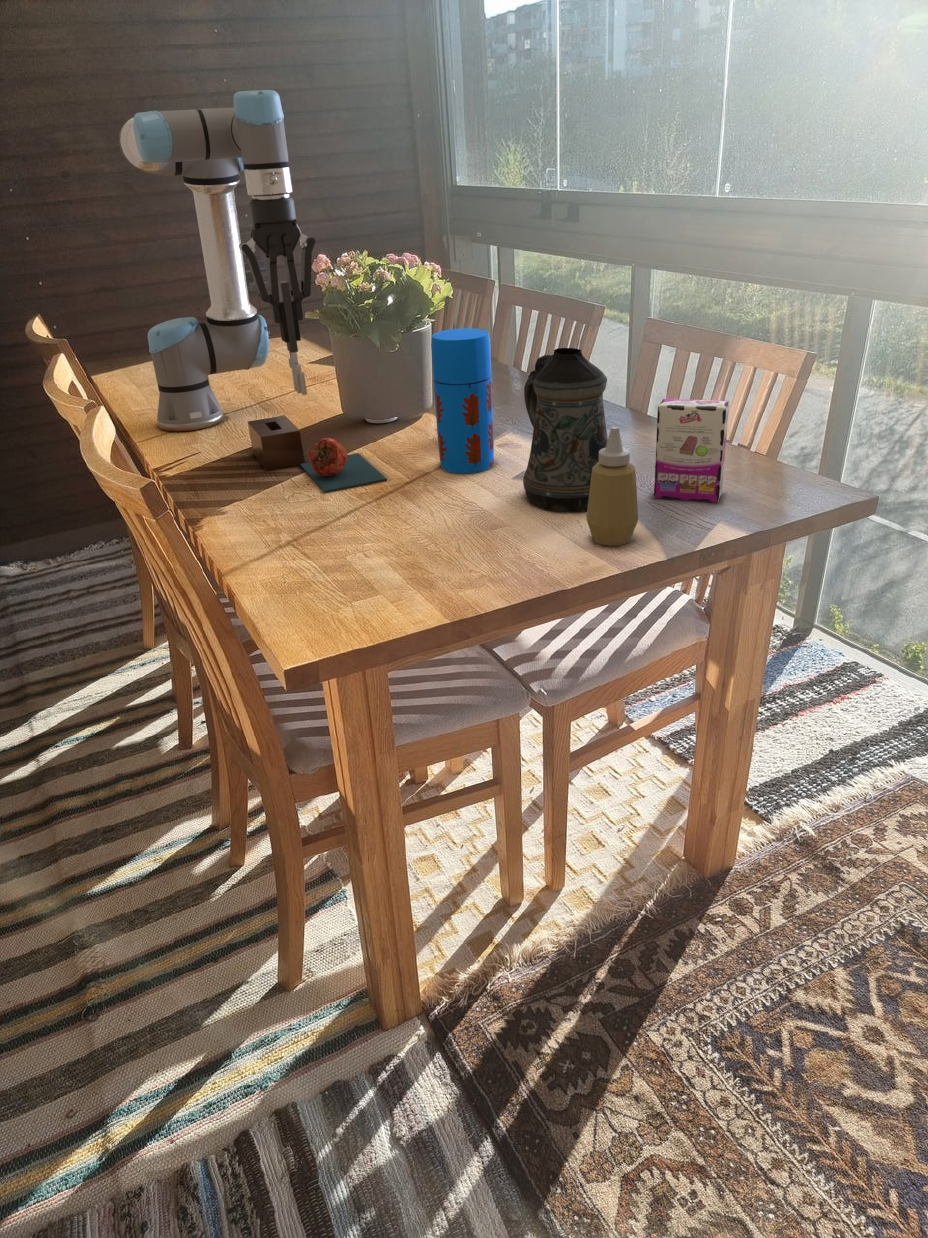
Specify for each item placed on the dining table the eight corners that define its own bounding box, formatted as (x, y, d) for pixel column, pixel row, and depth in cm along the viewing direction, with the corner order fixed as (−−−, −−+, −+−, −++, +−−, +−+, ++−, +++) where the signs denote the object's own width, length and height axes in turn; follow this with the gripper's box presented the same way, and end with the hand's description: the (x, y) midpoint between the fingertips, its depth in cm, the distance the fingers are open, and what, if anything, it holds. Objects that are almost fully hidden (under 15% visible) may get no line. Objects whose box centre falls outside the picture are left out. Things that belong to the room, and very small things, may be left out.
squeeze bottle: (581, 531, 142) (582, 421, 134) (630, 527, 143) (635, 417, 134) (591, 551, 135) (593, 437, 127) (643, 547, 136) (649, 433, 127)
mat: (300, 465, 179) (299, 463, 179) (358, 454, 183) (358, 452, 183) (324, 492, 164) (324, 490, 164) (386, 480, 168) (386, 478, 168)
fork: (291, 388, 167) (275, 279, 157) (299, 387, 168) (284, 278, 158) (298, 395, 162) (283, 284, 153) (307, 394, 163) (292, 283, 153)
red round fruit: (306, 471, 164) (333, 492, 173) (336, 447, 163) (363, 470, 172) (291, 443, 168) (319, 465, 176) (321, 420, 166) (348, 443, 175)
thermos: (501, 457, 177) (497, 328, 164) (484, 475, 168) (478, 340, 156) (450, 454, 180) (442, 327, 168) (431, 471, 171) (421, 339, 159)
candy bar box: (722, 493, 153) (731, 399, 145) (718, 503, 149) (727, 408, 141) (657, 488, 157) (662, 396, 149) (652, 498, 153) (657, 404, 145)
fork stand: (253, 453, 188) (247, 421, 184) (289, 447, 190) (284, 415, 187) (266, 470, 177) (260, 437, 174) (305, 463, 180) (300, 430, 176)
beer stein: (592, 519, 146) (595, 367, 134) (492, 501, 156) (486, 358, 144) (631, 487, 158) (637, 344, 146) (536, 472, 168) (534, 337, 156)
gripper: (232, 201, 143) (256, 349, 155) (318, 194, 148) (335, 338, 160) (223, 199, 149) (247, 341, 161) (306, 192, 154) (324, 331, 166)
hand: (291, 339), depth 160 cm, fingers closed on fork, 1 cm apart
